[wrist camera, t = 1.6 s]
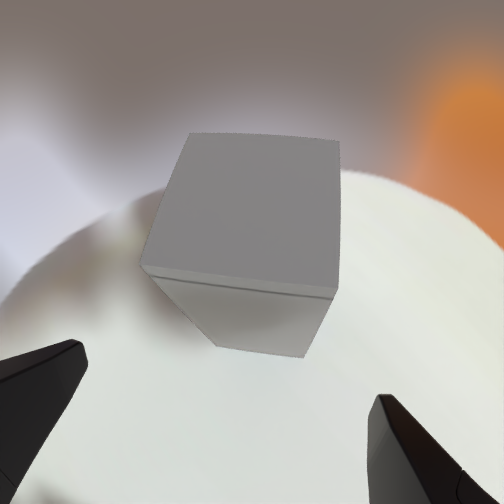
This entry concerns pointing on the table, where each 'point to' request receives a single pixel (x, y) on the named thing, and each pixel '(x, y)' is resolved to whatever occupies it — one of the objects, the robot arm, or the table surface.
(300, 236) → the smooth gray cuboid
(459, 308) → the table surface
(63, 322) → the table surface
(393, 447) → the robot arm
